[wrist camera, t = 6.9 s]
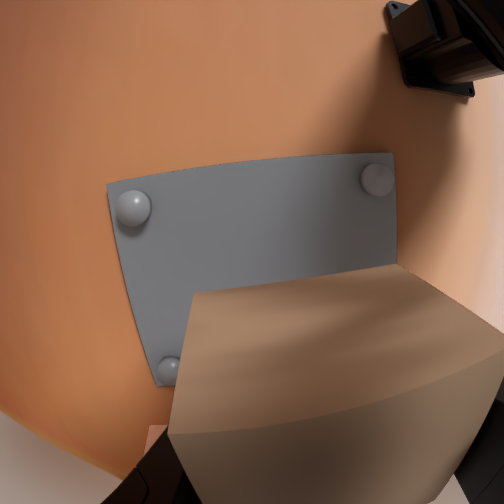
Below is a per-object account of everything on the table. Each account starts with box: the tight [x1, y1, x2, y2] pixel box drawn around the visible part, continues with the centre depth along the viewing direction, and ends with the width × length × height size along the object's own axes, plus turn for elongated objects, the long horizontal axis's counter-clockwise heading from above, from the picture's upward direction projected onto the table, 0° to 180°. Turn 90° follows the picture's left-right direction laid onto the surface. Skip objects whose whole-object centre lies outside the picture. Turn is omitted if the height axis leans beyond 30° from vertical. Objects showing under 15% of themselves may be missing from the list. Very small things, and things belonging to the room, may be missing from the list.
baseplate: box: [106, 153, 397, 386], centre depth 17 cm, size 16×13×1 cm
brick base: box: [167, 264, 504, 504], centre depth 7 cm, size 6×6×5 cm
